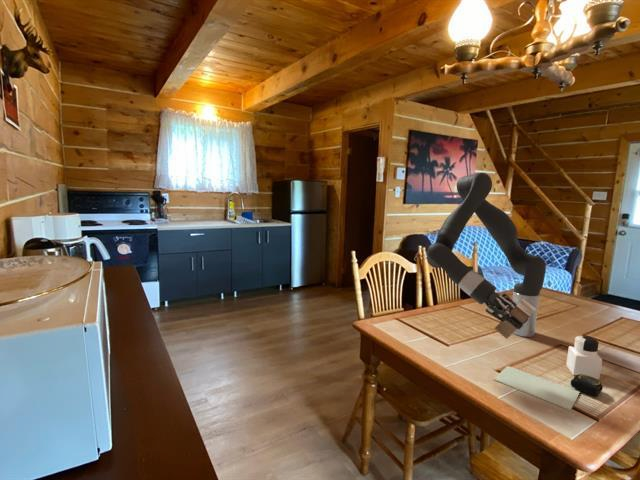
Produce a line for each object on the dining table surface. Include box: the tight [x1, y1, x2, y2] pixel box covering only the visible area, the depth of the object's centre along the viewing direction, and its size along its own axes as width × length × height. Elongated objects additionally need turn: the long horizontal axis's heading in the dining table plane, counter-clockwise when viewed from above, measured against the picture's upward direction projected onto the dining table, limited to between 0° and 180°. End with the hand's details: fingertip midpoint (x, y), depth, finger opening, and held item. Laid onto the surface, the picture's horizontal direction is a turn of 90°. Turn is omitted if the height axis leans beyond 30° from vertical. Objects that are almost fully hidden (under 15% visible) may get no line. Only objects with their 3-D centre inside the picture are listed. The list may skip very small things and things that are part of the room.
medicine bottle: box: [565, 335, 603, 380], centre depth 114 cm, size 7×7×12 cm
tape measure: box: [570, 374, 604, 398], centre depth 104 cm, size 7×7×4 cm
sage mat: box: [493, 365, 581, 411], centre depth 106 cm, size 12×20×1 cm, turn 44°
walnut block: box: [494, 299, 536, 339], centre depth 108 cm, size 4×4×12 cm
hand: (523, 324), depth 107 cm, fingers closed on walnut block, 4 cm apart
